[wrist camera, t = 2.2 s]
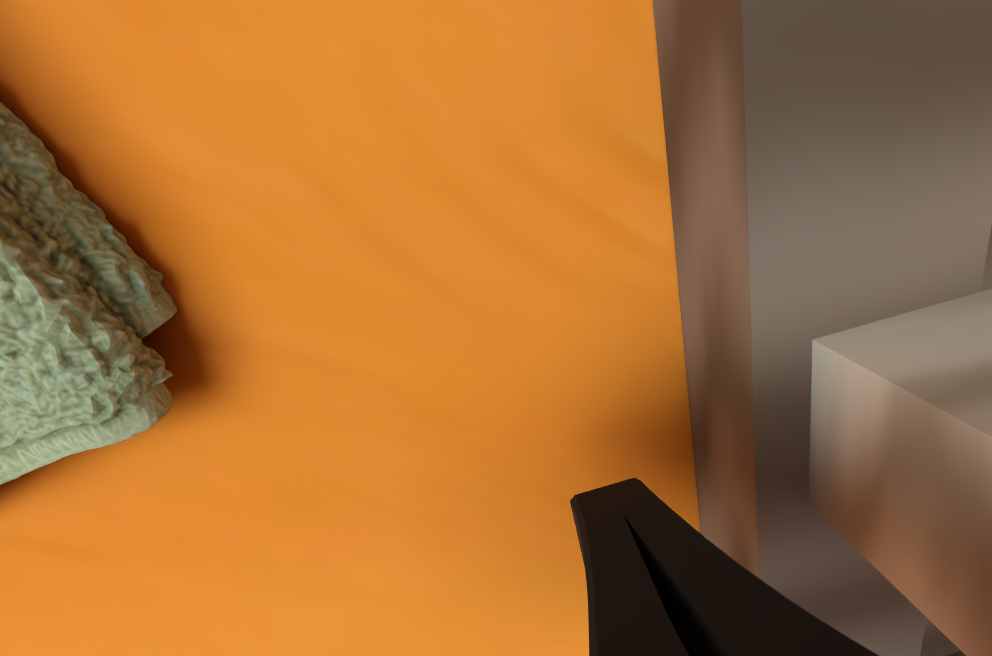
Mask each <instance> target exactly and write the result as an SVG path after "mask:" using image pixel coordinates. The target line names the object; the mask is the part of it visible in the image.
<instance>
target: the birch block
mask: <svg viewBox="0 0 992 656" xmlns="http://www.w3.org/2000/svg"><path fill="white" fill-rule="evenodd" d="M809 504H810V505H811V506H812V507H813V508H814V509H815V510H816V511H817V512H818V513H819V514H820V515H821V516H822V517H823V518H824V519H825V520H826V521H827V522H828V523H829V524H830V525H831V526H833V527H834V528H835V529H836V530H837V531H838V532H839V533H840V534H841V535H842V536H843V537H844V538H845V539H846V540H847V541H848V542H849V543H850V544H851V545H852V546H853V547H854V548H855V549H856V550H857V551H858V552H859V553H860V554H861V555H863V556H864V557H865V558H866V559H867V560H868V561H869V562H870V563H871V564H872V565H873V566H874V567H875V568H876V569H877V570H878V571H879V572H880V573H881V574H882V575H883V576H884V577H885V578H886V579H887V580H888V581H889V582H890V583H891V584H893V585H894V586H895V587H896V588H897V589H898V590H899V591H900V592H901V593H902V594H903V595H904V596H905V597H906V598H907V599H908V600H909V601H910V602H911V603H912V604H913V605H914V606H915V607H916V608H917V609H918V610H919V611H920V612H921V613H922V614H924V615H925V616H926V617H927V618H928V619H929V620H930V621H931V622H932V623H933V624H934V625H935V626H936V627H937V628H938V629H939V630H940V631H941V632H942V633H943V634H944V635H945V636H946V637H947V638H948V639H949V640H950V641H951V642H952V643H954V644H955V645H956V646H957V647H958V648H959V649H960V650H961V651H962V652H963V653H964V654H965V655H966V656H992V289H988V290H985V291H981V292H978V293H974V294H971V295H967V296H964V297H960V298H957V299H953V300H950V301H946V302H943V303H939V304H936V305H932V306H929V307H925V308H922V309H918V310H915V311H911V312H908V313H904V314H901V315H897V316H894V317H890V318H887V319H883V320H879V321H876V322H872V323H869V324H865V325H862V326H858V327H855V328H851V329H848V330H844V331H841V332H837V333H834V334H830V335H827V336H823V337H820V338H816V339H813V340H812V381H811V422H810V464H809Z"/></svg>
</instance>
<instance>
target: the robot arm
mask: <svg viewBox="0 0 992 656" xmlns="http://www.w3.org/2000/svg"><path fill="white" fill-rule="evenodd" d="M570 503H571V507H572V512H573V516H574V521H575V525H576V530H577V534H578V539H579V543H580V548H581V552H582V557H583V561H584V566H585V570H586V581H587V592H588V615H589V656H879V655H877V654H876V653H874V652H872V651H871V650H869V649H867V648H866V647H864V646H862V645H861V644H859V643H857V642H855V641H854V640H852V639H850V638H849V637H847V636H845V635H844V634H842V633H841V632H839V631H837V630H836V629H834V628H833V627H831V626H829V625H828V624H826V623H825V622H823V621H821V620H820V619H818V618H817V617H815V616H814V615H812V614H810V613H809V612H807V611H806V610H804V609H803V608H801V607H800V606H798V605H797V604H795V603H794V602H792V601H791V600H789V599H788V598H786V597H785V596H783V595H782V594H781V593H779V592H778V591H776V590H775V589H773V588H772V587H771V586H769V585H768V584H766V583H765V582H764V581H762V580H761V579H759V578H758V577H757V576H755V575H754V574H752V573H751V572H750V571H748V570H747V569H746V568H744V567H743V566H741V565H740V564H739V563H737V562H736V561H735V560H733V559H732V558H731V557H730V556H728V555H727V554H726V553H724V552H723V551H722V550H721V549H719V548H718V547H717V546H715V545H714V544H713V543H712V542H710V541H709V540H708V539H707V538H705V537H704V536H703V535H701V534H700V533H699V532H698V531H697V530H695V529H694V528H693V527H692V526H690V525H689V524H688V523H687V522H686V521H685V520H683V519H682V518H681V517H680V516H679V515H678V514H676V513H675V512H674V511H673V510H672V509H671V508H669V507H668V506H667V505H666V504H665V503H664V502H663V501H662V500H660V499H659V498H658V497H657V496H656V495H655V494H654V493H653V492H652V491H651V490H650V489H648V488H647V487H646V486H645V485H644V484H643V483H642V482H641V481H640V480H638V479H636V478H632V479H628V480H625V481H621V482H618V483H615V484H611V485H608V486H604V487H601V488H597V489H594V490H591V491H587V492H584V493H580V494H577V495H575V496H574V497H573V498H572V500H571V501H570Z"/></svg>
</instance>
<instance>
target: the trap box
mask: <svg viewBox="0 0 992 656" xmlns="http://www.w3.org/2000/svg"><path fill="white" fill-rule="evenodd" d="M653 5H654V16H655V27H656V38H657V49H658V61H659V72H660V83H661V94H662V105H663V116H664V127H665V138H666V150H667V161H668V172H669V183H670V194H671V205H672V216H673V227H674V239H675V250H676V261H677V272H678V283H679V294H680V305H681V316H682V328H683V339H684V350H685V361H686V372H687V383H688V394H689V406H690V417H691V428H692V439H693V450H694V461H695V472H696V483H697V495H698V506H699V517H700V528H701V535H703V536H704V537H705V538H707V539H708V540H709V541H710V542H712V543H713V544H714V545H715V546H717V547H718V548H719V549H721V550H722V551H723V552H724V553H726V554H727V555H728V556H730V557H731V558H732V559H733V560H735V561H736V562H737V563H739V564H740V565H741V566H743V567H744V568H746V569H747V570H748V571H750V572H751V573H752V574H754V575H755V576H757V577H758V578H759V579H761V580H762V581H764V582H765V583H766V584H768V585H769V586H771V587H772V588H773V589H775V590H776V591H778V592H779V593H781V594H782V595H783V596H785V597H786V598H788V599H789V600H791V601H792V602H794V603H795V604H797V605H798V606H800V607H801V608H803V609H804V610H806V611H807V612H809V613H810V614H812V615H814V616H815V617H817V618H818V619H820V620H821V621H823V622H825V623H826V624H828V625H829V626H831V627H833V628H834V629H836V630H837V631H839V632H841V633H842V634H844V635H845V636H847V637H849V638H850V639H852V640H854V641H855V642H857V643H859V644H861V645H862V646H864V647H866V648H867V649H869V650H871V651H872V652H874V653H876V654H877V655H879V656H966V655H965V654H964V653H963V652H962V651H961V650H960V649H959V648H958V647H957V646H956V645H955V644H954V643H952V642H951V641H950V640H949V639H948V638H947V637H946V636H945V635H944V634H943V633H942V632H941V631H940V630H939V629H938V628H937V627H936V626H935V625H934V624H933V623H932V622H931V621H930V620H929V619H928V618H927V617H926V616H925V615H924V614H922V613H921V612H920V611H919V610H918V609H917V608H916V607H915V606H914V605H913V604H912V603H911V602H910V601H909V600H908V599H907V598H906V597H905V596H904V595H903V594H902V593H901V592H900V591H899V590H898V589H897V588H896V587H895V586H894V585H893V584H891V583H890V582H889V581H888V580H887V579H886V578H885V577H884V576H883V575H882V574H881V573H880V572H879V571H878V570H877V569H876V568H875V567H874V566H873V565H872V564H871V563H870V562H869V561H868V560H867V559H866V558H865V557H864V556H863V555H861V554H860V553H859V552H858V551H857V550H856V549H855V548H854V547H853V546H852V545H851V544H850V543H849V542H848V541H847V540H846V539H845V538H844V537H843V536H842V535H841V534H840V533H839V532H838V531H837V530H836V529H835V528H834V527H833V526H831V525H830V524H829V523H828V522H827V521H826V520H825V519H824V518H823V517H822V516H821V515H820V514H819V513H818V512H817V511H816V510H815V509H814V508H813V507H812V506H811V505H810V504H809V464H810V422H811V381H812V340H813V339H816V338H820V337H823V336H827V335H830V334H834V333H837V332H841V331H844V330H848V329H851V328H855V327H858V326H862V325H865V324H869V323H872V322H876V321H879V320H883V319H887V318H890V317H894V316H897V315H901V314H904V313H908V312H911V311H915V310H918V309H922V308H925V307H929V306H932V305H936V304H939V303H943V302H946V301H950V300H953V299H957V298H960V297H964V296H967V295H971V294H974V293H978V292H981V291H985V290H988V289H992V0H653Z"/></svg>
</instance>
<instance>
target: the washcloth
mask: <svg viewBox="0 0 992 656" xmlns="http://www.w3.org/2000/svg"><path fill="white" fill-rule="evenodd" d="M162 279H163V275H162V273H160V272H158V271H156V270H154V269H152V268H150V266H149V265H148V264H147V263H146V261H145V260H143V259H142V258H140V257H139V256H137V255H136V254H135V253H134V252H133V250H132V249H131V248H130V247H129V245H128V244H127V240H126V238H125V236H124V235H122V234H121V233H120V232H118V231H117V230H116V229H115V228H114V227H113V226H112V225H111V224H110V223H109V222H108V221H107V219H106V218H105V213H104V212H103V211H102V209H101V208H100V207H98V206H97V205H95V204H94V203H92V202H91V201H90V200H89V199H88V197H87V196H86V194H84V193H82V192H80V191H78V190H76V189H74V187H73V185H72V183H71V181H69V180H68V179H67V178H66V177H65V176H64V175H62V174H61V173H60V172H59V170H58V168H57V166H56V163H55V159H54V157H53V155H52V154H51V153H50V152H49V151H48V150H47V149H46V148H45V146H44V144H43V142H42V141H41V140H40V139H39V138H38V137H37V136H35V135H34V134H33V133H32V132H31V131H30V130H29V128H28V127H27V126H26V125H25V124H24V123H23V121H22V120H20V119H19V118H17V117H16V116H15V115H14V114H13V113H12V112H11V111H10V110H9V109H8V108H7V107H6V106H4V105H3V104H2V102H1V101H0V485H1V484H3V483H6V482H8V481H11V480H13V479H16V478H18V477H20V476H21V475H23V474H26V473H28V472H30V471H33V470H35V469H37V468H39V467H42V466H45V465H47V464H50V463H52V462H54V461H56V460H59V459H61V458H63V457H66V456H68V455H71V454H75V453H78V452H82V451H86V450H89V449H96V448H101V447H105V446H108V445H111V444H114V443H117V442H121V441H124V440H127V439H129V438H131V437H132V436H133V435H135V434H138V433H140V432H143V431H146V430H149V429H150V428H151V427H152V426H153V425H154V424H155V423H157V422H158V421H159V420H160V419H161V418H163V417H164V416H165V415H166V413H167V412H168V411H169V410H170V407H171V405H172V394H171V392H170V391H169V390H168V388H167V387H166V386H165V385H164V384H163V383H162V382H164V381H165V380H166V379H168V378H170V377H172V376H173V374H172V373H171V372H169V371H167V370H166V369H165V361H164V360H163V358H162V357H161V356H160V355H159V354H158V353H157V352H156V351H155V350H154V349H152V348H149V347H147V346H144V345H143V343H142V338H143V337H145V336H147V335H149V334H150V333H151V332H153V331H154V330H155V329H156V328H158V327H159V326H161V325H162V324H163V323H165V322H166V321H167V320H169V319H170V318H171V317H172V316H173V315H174V314H175V313H177V307H176V305H175V303H174V301H173V299H172V298H171V296H170V295H169V294H168V293H167V292H166V290H165V289H164V288H163V286H162V285H161V281H162Z"/></svg>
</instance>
